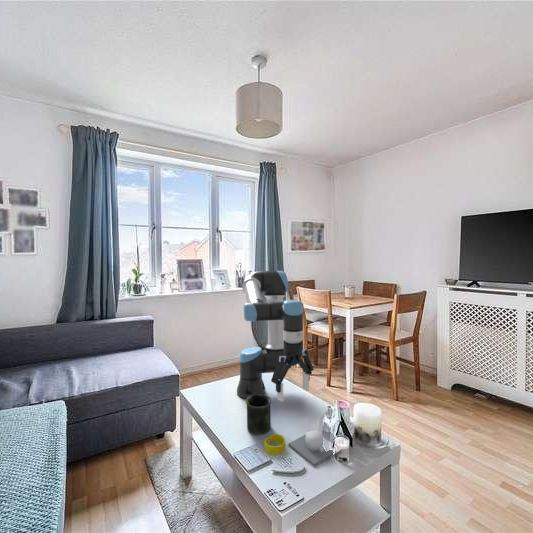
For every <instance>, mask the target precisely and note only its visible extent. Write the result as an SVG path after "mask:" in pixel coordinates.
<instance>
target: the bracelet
mask: <svg viewBox="0 0 533 533" xmlns="http://www.w3.org/2000/svg"><path fill="white" fill-rule="evenodd" d="M270 443H271V444H273V443H278V444H280V445H277V446H273V445H269V444H270ZM285 449H286V438H285V437H284V436H282V435H280V434H275V433H274V434H272V435H270V437H268V436H267V437H266V438H264V450H265V452H266V453H267V454H269V455H272V456H277V455H280V454H281V455H282V454H283V453H284V452H285V451H286V450H285Z"/></svg>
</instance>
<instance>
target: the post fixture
mask: <svg viewBox="0 0 533 533" xmlns="http://www.w3.org/2000/svg"><path fill="white" fill-rule="evenodd" d="M323 436H324V435H323V433H322V432H320V431H318V430H315V429H314V430H313V429H311V430H308V431H307V432H306V433H305V434H304V435H302V436H300V437H298V438H296V439H294V440H292V441H290V442H288V443H287V444H288V447H289V448H290V449H291V450H293V451H294V452H295V453H297V454H298V455H299V456H300V457H302V458H303V459H304V460H305V461H306V462H307V463H309V464H310V465H312V467H314V468H315V467H317V466H318V465H320V464H322V463H323V462H324V461H326V460H328V459H330V458H331V456H332V455H333V453H334V452H333V450H329V451H327V452H326V451H324V448H323V447H322V445H323ZM333 456H334V455H333ZM333 456H332V457H333Z"/></svg>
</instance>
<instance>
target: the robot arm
mask: <svg viewBox="0 0 533 533" xmlns="http://www.w3.org/2000/svg"><path fill="white" fill-rule="evenodd" d="M242 280H243V281H242V284H241V285H242V286H241V287H242V291H243V292H244V294H245V298H246V303H244V304H243V319H244V321H245V322H252V323H253V322H262V321H263V322H265V321H267V344H266V345H265V348H264V349H262V348H261V347H259V346H251V347H247V348H245V349H242V350H241V352H240V353H239V381H238V385H237V388H236V394H237V396H238V397H239V398H241V399H244V400H246V399H247V398H248V397H250V396H252V395H256V394H262V395H265V394H266V386H265V382H264V380H263V374H272V376H271V380H270V381H271V383H273V384H275V391H276V399H277V400H278V401H280V402H284V383H283V381H284V379H285V377H286V375H287V373H288V371H289V369H291V368H292V367H293V366H295V365H299V367H300V368H301V370H302V371H303V372H302V389H303V390H304V391H305V390H306V391H307V392H308V391H310V378H311V377H310V375H312V373H313V371H314V367H313V366H314V365H313V364H312V362H311V359H310V356H309V351H308V350H307V349H306V348H305V349H304V341H303V340H304V332H303V331H304V307H303V301H301V300H298V299H287V300H286V299H284V297H286V293H288V292H289V281H288V280H289V279H288V276H287V274H286V272H285V271H284V270H257V271H253V272H251V273H249V274H248V275H246V277H245V278H243V279H242ZM262 293H263V294H262ZM263 295H264V297H265V298H266V300H267V301H266V302H265V300H264V297H263Z"/></svg>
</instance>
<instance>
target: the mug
mask: <svg viewBox="0 0 533 533" xmlns="http://www.w3.org/2000/svg"><path fill="white" fill-rule="evenodd" d="M245 404H246V428H247V430H248V432H250V433H251V434H253V435H264V434H267V433H268V432H270V430H271V427H272V426H271V425H272V422H271V420H272V419H271V416H272V415H271V412H272V410H271V409H272V408H271V404H272V399H271V397H270V396H268V395H265V394H264V395H262V394H256V395H252V396H250V397H248V398H247V399H245Z"/></svg>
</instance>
